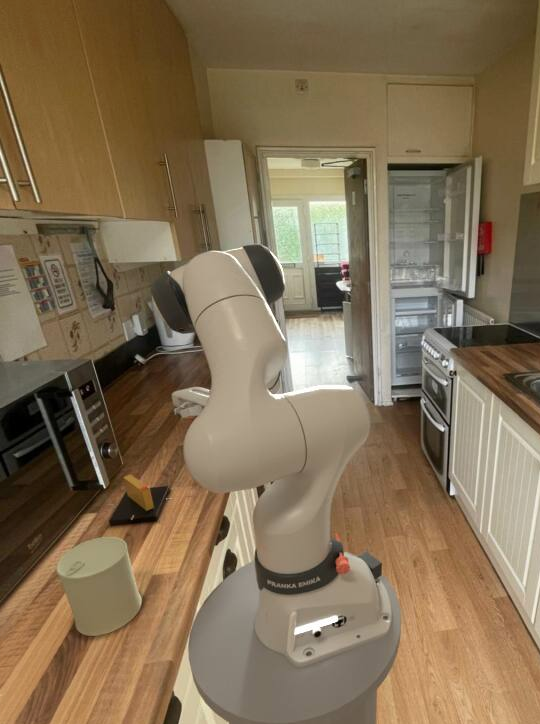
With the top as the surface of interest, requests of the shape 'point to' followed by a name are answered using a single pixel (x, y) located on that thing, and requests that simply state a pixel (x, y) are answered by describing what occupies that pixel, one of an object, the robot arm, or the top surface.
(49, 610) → the top surface
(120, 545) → the can
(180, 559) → the top surface
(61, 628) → the top surface
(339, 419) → the robot arm
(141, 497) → the lock turn
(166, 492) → the lock plate
